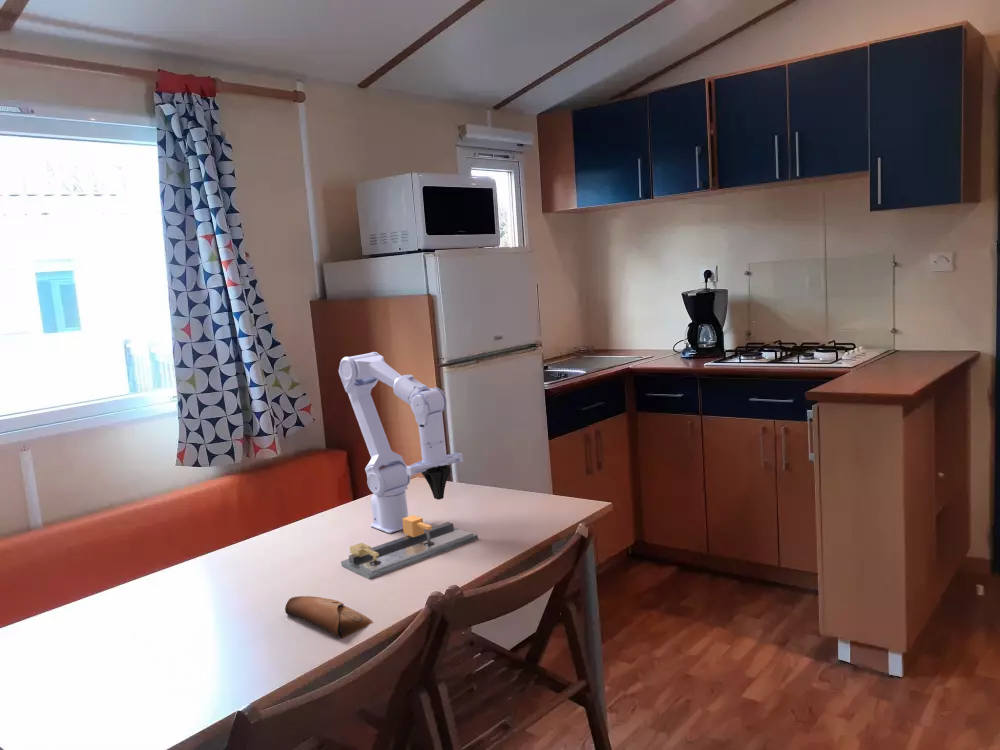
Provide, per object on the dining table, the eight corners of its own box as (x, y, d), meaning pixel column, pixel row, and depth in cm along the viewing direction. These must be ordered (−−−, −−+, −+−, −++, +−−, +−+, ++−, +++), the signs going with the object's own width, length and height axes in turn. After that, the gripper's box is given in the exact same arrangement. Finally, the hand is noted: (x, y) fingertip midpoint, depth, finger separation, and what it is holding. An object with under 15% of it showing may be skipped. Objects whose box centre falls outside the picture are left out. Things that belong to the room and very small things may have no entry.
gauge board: (341, 565, 176) (339, 548, 175) (447, 528, 194) (446, 513, 193) (369, 579, 166) (367, 560, 166) (478, 539, 184) (476, 522, 184)
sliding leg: (404, 536, 185) (402, 518, 184) (415, 533, 186) (413, 515, 186) (426, 545, 178) (423, 526, 177) (437, 541, 179) (435, 522, 179)
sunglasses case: (377, 621, 146) (358, 598, 142) (353, 653, 142) (333, 630, 139) (322, 599, 158) (303, 577, 155) (298, 628, 154) (278, 606, 151)
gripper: (415, 450, 176) (422, 509, 178) (468, 436, 185) (473, 493, 187) (398, 446, 182) (405, 503, 183) (450, 433, 190) (456, 488, 192)
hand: (438, 498), depth 185 cm, fingers closed
